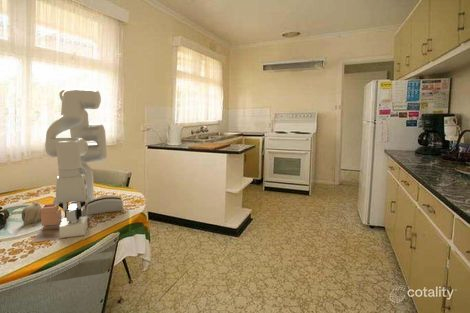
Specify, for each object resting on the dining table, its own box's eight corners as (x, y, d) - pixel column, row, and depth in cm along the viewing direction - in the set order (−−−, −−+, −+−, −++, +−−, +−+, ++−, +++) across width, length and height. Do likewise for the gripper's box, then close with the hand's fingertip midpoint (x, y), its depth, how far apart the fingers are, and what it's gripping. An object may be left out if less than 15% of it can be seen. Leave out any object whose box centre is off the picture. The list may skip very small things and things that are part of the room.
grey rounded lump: (32, 225, 120) (32, 203, 122) (50, 223, 120) (50, 200, 121) (13, 227, 111) (14, 203, 113) (33, 225, 110) (33, 200, 112)
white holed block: (65, 229, 108) (64, 218, 108) (87, 226, 111) (86, 216, 110) (60, 237, 101) (59, 226, 100) (84, 235, 104) (83, 224, 103)
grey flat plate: (47, 224, 116) (47, 221, 115) (91, 220, 122) (91, 217, 121) (30, 246, 97) (30, 242, 97) (84, 239, 103) (83, 236, 103)
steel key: (72, 227, 110) (70, 204, 108) (80, 226, 111) (79, 203, 109) (67, 236, 102) (65, 211, 100) (76, 235, 103) (75, 210, 101)
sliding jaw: (46, 220, 114) (44, 203, 112) (61, 218, 115) (60, 202, 114) (41, 226, 108) (40, 208, 107) (58, 224, 110) (56, 207, 109)
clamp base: (49, 222, 115) (47, 199, 113) (88, 218, 120) (87, 196, 118) (43, 229, 107) (41, 205, 106) (85, 225, 113) (84, 202, 111)
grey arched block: (122, 208, 137) (122, 192, 133) (124, 214, 134) (124, 197, 130) (84, 214, 128) (84, 197, 124) (85, 220, 125) (85, 203, 121)
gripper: (95, 169, 109) (97, 212, 112) (48, 171, 103) (52, 217, 106) (92, 173, 102) (95, 219, 105) (41, 176, 96) (46, 224, 99)
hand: (73, 218), depth 105 cm, fingers closed on steel key, 2 cm apart
